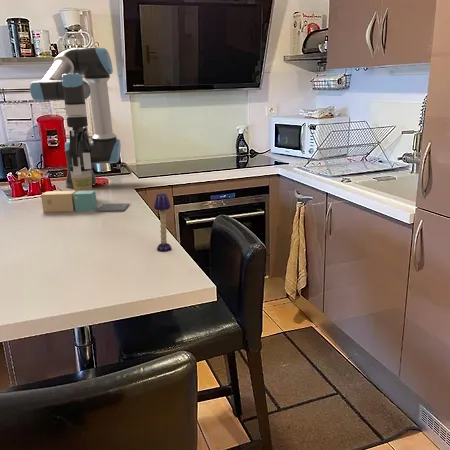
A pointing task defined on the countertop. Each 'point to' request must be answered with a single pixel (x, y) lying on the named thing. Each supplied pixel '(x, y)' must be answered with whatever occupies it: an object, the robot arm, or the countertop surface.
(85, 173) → the coffee cup
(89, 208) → the teal cube
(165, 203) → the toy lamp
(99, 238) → the countertop surface
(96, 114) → the robot arm
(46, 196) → the tan cardboard box
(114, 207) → the pad
